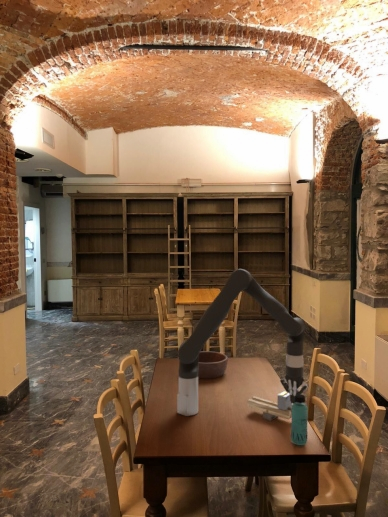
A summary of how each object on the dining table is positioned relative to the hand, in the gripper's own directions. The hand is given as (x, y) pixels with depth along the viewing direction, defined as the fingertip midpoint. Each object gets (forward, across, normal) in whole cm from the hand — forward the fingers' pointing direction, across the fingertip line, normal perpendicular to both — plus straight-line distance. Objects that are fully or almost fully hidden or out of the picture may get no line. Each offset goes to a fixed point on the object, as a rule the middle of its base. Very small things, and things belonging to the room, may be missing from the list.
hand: (293, 403), depth 183 cm
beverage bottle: (+10, +10, -15) cm, 20 cm away
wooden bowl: (+10, -70, +29) cm, 77 cm away
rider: (+5, -4, 0) cm, 7 cm away
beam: (+10, -11, 0) cm, 15 cm away
